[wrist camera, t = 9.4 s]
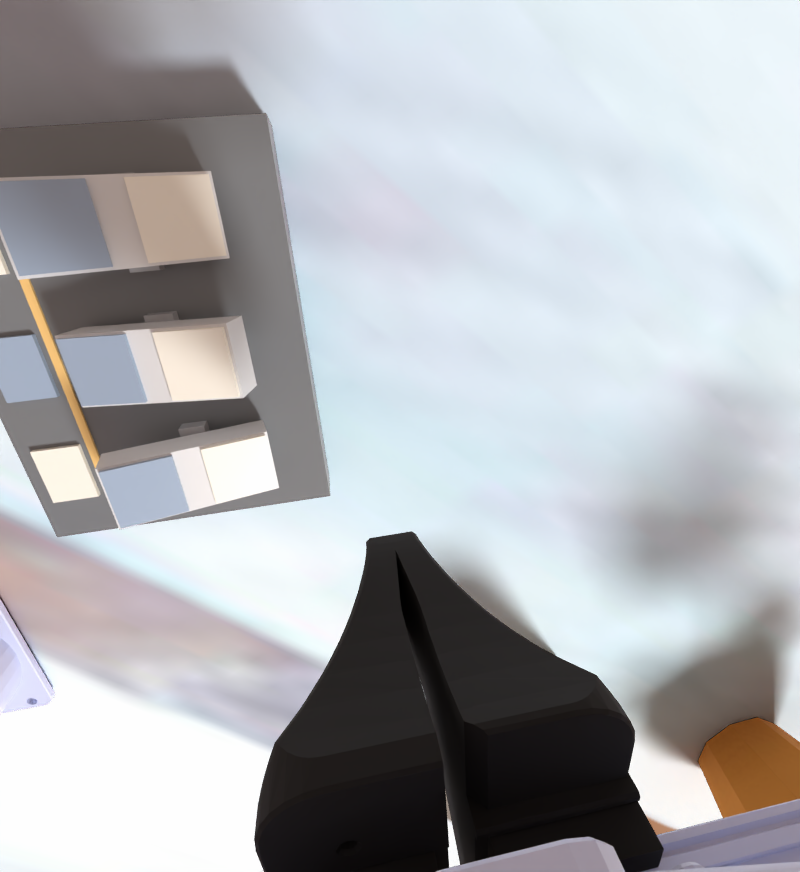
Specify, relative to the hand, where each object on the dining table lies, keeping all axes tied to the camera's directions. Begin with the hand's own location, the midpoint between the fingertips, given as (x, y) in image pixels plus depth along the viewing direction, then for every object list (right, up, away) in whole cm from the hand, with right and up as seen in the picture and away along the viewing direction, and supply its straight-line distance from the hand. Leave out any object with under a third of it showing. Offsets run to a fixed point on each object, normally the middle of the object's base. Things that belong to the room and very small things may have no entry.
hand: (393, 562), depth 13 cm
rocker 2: (-8, +6, +3) cm, 11 cm away
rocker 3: (-8, +2, +5) cm, 10 cm away
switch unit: (-10, +8, +6) cm, 14 cm away
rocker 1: (-9, +10, +1) cm, 14 cm away
